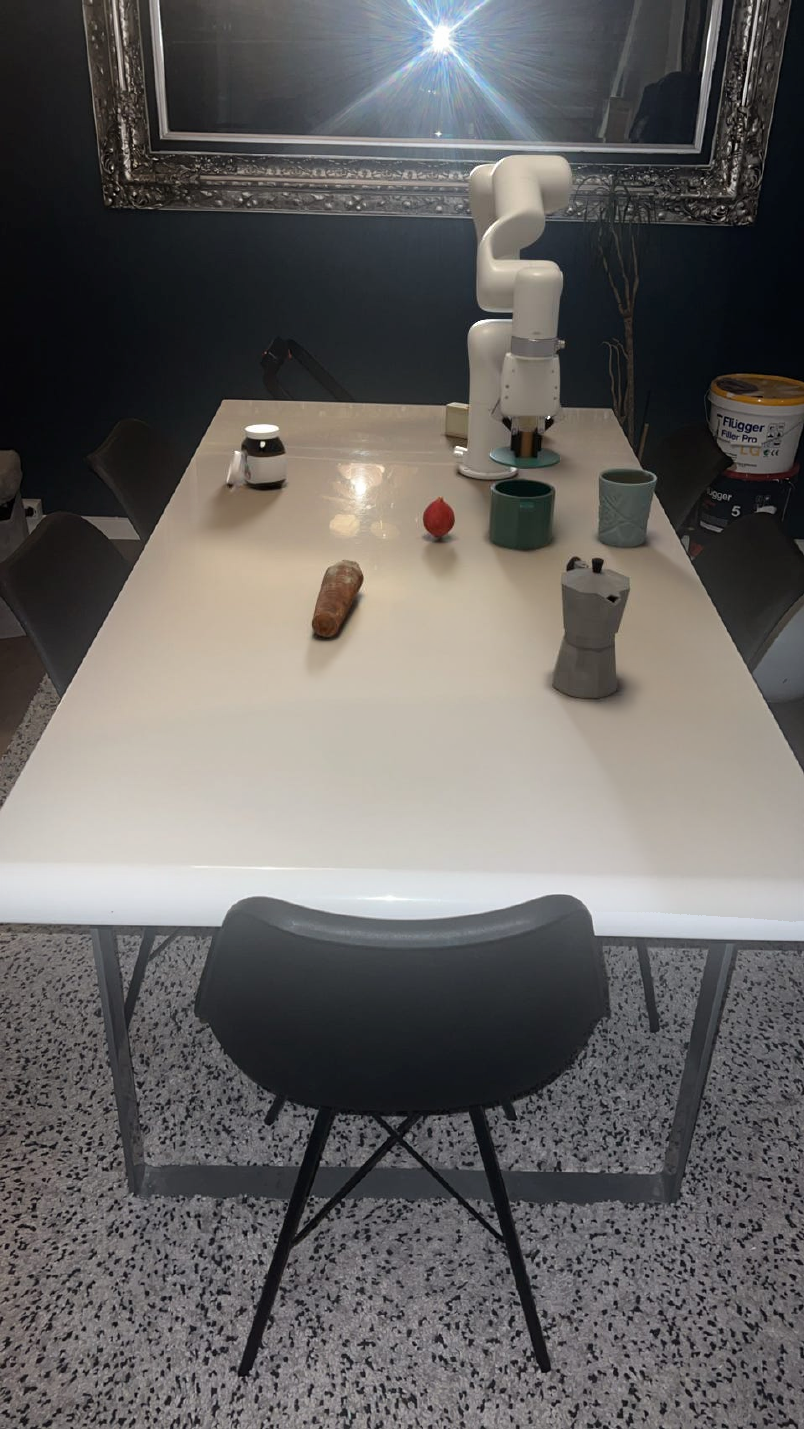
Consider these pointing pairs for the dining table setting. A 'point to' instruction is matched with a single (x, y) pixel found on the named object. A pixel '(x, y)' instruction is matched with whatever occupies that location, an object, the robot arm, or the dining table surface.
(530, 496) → the pot
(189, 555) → the dining table surface
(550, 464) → the pot lid
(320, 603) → the brown root vegetable
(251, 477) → the spread jar
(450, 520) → the onion
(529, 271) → the robot arm
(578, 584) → the coffeepot
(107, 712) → the dining table surface
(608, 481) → the light blue cup
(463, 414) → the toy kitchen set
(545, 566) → the dining table surface
